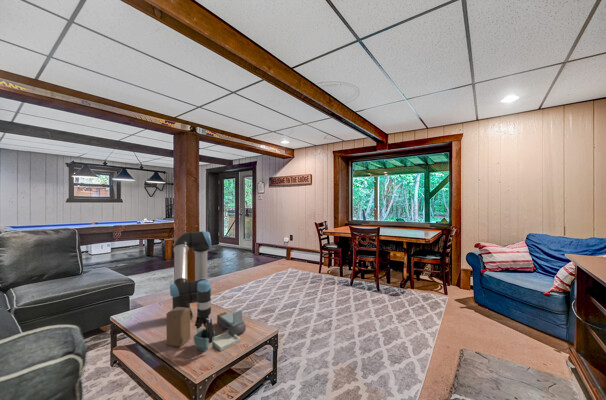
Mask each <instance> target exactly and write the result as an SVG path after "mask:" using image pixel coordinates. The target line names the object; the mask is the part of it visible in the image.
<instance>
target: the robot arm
mask: <svg viewBox="0 0 606 400" xmlns="http://www.w3.org/2000/svg"><path fill="white" fill-rule="evenodd" d="M211 247H213V246H212V239H211V234H210V232H209V231H203V230H202V231H190V232H189V231H188V232H184V233H183V234H181V235H179V236H178V238H177V239H176V240H175V242H174V243H173V252H174V274H173V276H174V277H173V278H174V279H173V283H171V284H170V286H169V287H170V289H169V294H170V296H171V298H172V310H173V309H174V308H176V307H185V308H190V320H192V318H193V317H194V315H193V310H192V308H191V304H196V306H197V308H196V309H197V311H196V312H197V313H196V319H195V323H194V326H195V327H196V334H197V333H198V332H200V331H201V330H202V329H203V327H204V329H206V332H207V335H208V337H207V350H209V349H212V348H213V344H212V337H215V335H216V334H215V335H214V331H215V330H214V327H213V323H212V322H213V321H212V320H213V319H212V318H210V314H211V313H212V301H211V300H212V299H211V297H212V284H211V281H210V280H209V279H208V252H209V251H210V248H211ZM190 249H192V252H194V280H191V281H188V252H189V250H190ZM202 326H203V327H202Z"/></svg>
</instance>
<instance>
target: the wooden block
mask: <svg viewBox="0 0 606 400" xmlns="http://www.w3.org/2000/svg"><path fill="white" fill-rule="evenodd" d="M190 308H191V307H190ZM190 308H185V307H176V308H174V309H173V308H172V309H171V310H169V311H168V312H167V313H166V319H165V320H166V322H165V323H166V345H167V346H170V347H176V348H177V347H178V348H179V347H182V346H183V345H184V344H185V343H187V342H188V341H189V340H190V339H191V319H190Z"/></svg>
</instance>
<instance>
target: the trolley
mask: <svg viewBox="0 0 606 400" xmlns="http://www.w3.org/2000/svg"><path fill="white" fill-rule="evenodd" d="M218 327H219V328H220V330H221V331H224V330H227V331H228V333H229V334H230V335H231V336H232V337H233V336H234V335H237V336H238V335H240V334H242V333H244V332H246V329H247V328H246V324H245V320H244V319H243V309H238V310H236V311H233V312H228V313H227V314H225V315H223V316H221V319H220V320H219V325H218Z"/></svg>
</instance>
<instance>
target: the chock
mask: <svg viewBox="0 0 606 400" xmlns="http://www.w3.org/2000/svg"><path fill="white" fill-rule="evenodd" d="M225 314H228V313H227V312H226V311H222V312H221V313H218V314H216V324H217V326H219V320H220V319H221V316H223V315H225Z"/></svg>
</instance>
